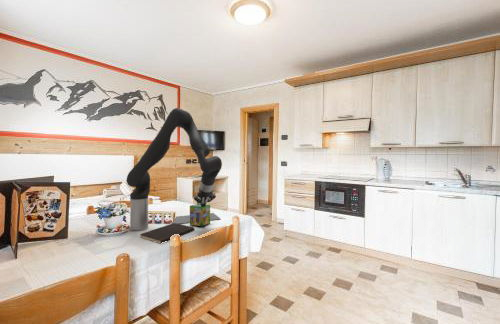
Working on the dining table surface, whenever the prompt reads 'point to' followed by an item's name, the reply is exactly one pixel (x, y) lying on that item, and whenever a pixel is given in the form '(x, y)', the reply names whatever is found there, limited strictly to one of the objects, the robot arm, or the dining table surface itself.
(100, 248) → the dining table surface
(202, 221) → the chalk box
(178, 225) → the hardcover book
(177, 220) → the charcoal mat
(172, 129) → the robot arm
